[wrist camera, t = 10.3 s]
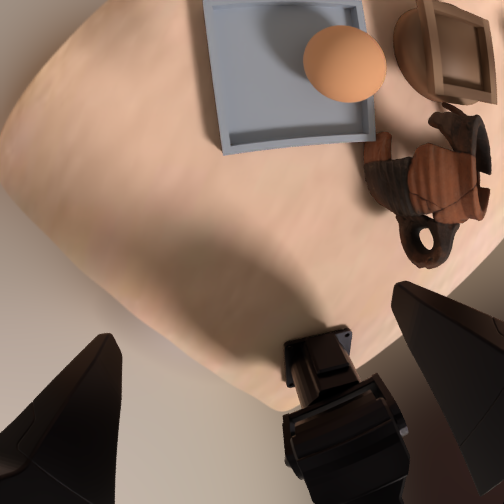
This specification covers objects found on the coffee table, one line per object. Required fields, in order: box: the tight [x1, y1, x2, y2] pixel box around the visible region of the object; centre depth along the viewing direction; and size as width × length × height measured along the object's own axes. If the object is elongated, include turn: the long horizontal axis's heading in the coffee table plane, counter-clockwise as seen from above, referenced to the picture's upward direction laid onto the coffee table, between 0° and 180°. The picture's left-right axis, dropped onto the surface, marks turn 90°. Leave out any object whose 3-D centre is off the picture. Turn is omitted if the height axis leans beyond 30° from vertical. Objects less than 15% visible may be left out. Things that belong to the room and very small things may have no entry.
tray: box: [203, 0, 376, 156], centre depth 16 cm, size 10×10×2 cm
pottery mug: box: [364, 102, 491, 269], centre depth 19 cm, size 12×10×8 cm
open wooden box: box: [393, 0, 497, 105], centre depth 15 cm, size 8×8×4 cm
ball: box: [303, 25, 386, 103], centre depth 15 cm, size 5×5×5 cm
